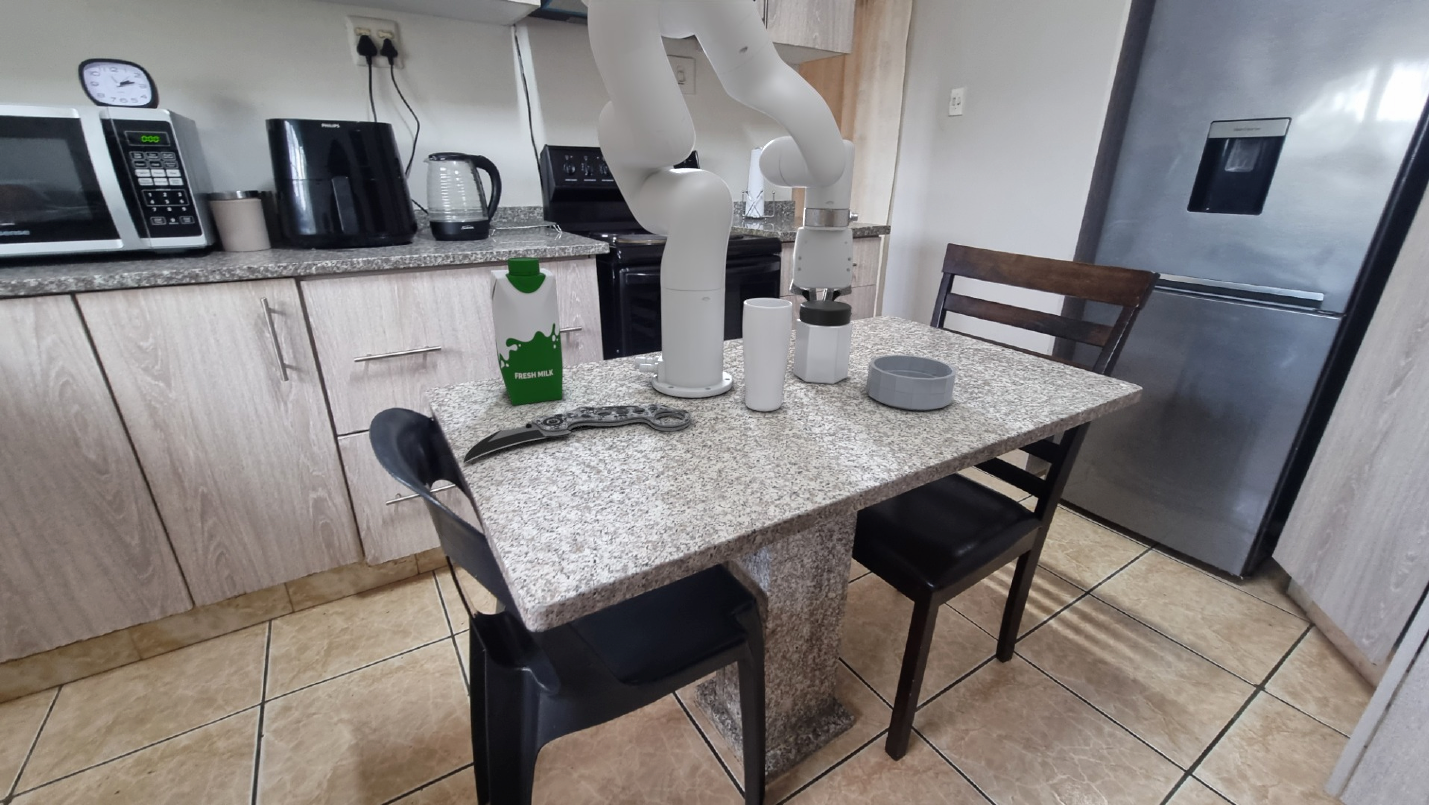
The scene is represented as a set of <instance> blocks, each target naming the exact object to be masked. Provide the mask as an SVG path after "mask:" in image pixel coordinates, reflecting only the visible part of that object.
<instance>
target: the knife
mask: <svg viewBox="0 0 1429 805" xmlns="http://www.w3.org/2000/svg"><path fill="white" fill-rule="evenodd" d="M661 417H677V418H680V419H681V420H678V421H662V420H659V418H661ZM691 418H692V415H691V412H689V411H688V410H687V409H682V408H676V407H672V406H668V405H666V404H659V403H658V404H657V403H650V404H644V405H611V406H610V405H609V406H598V407H597V406H596V407H595V406H588V405H587V406H579V407H577V408H574V409H572V410H568V411H565V412H561V413H555V414H545V415H540V416H537V417H535V418H533V419H531V422H530V423H529V422H528V423H526V424H525V425H521V426H518V427H512V428H508V429H507V428H506V429H499V430H498V431H495V432H493V433H492V434H490V435H488V436H486V437H484V438H481V440H480V441H478V442H477V443H475V444H474V445H473V446H472V447H471V448H470V449H469V450H467V453H466V454H465V456H464V458H463V461H462V464H465V463H468V462H470V461H472V460H475V459H476V458H479V457H481V456H484V455H486V454H489V453H492V452H494V451H497V450H501V449H504V448H507V447H511V446H514V445H519V444H523V443H526V442H531V441H535V440H542V439H547V438H559V437H566V436H570V435H572V432H575V431H581V430H586V429H591V428H597V427H598V428H599V427H613V426H622V425H627V424H633V423H645V424H648V425H649V426H650V427H652V428H654V429H655V430H659V431H662V432H674V431H675V432H676V431H679V430H680V431H681V430H682V429H685V428H687V427H688V426H690V425H691V420H692V419H691Z"/></svg>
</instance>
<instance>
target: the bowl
mask: <svg viewBox="0 0 1429 805" xmlns="http://www.w3.org/2000/svg"><path fill="white" fill-rule="evenodd" d="M867 371H868V372H867V378H866V380H867V381H866V387H865V388H866V389H865V390H866V393H867V394H868V396H869V397H871V398H872V399H874V400H875V401H877V402H880V403H881V404H883V405H886V406H889V407H892V408H896V409H901V410H909V411H932V410H936V409H941V408H945V407H947V406H948V405H951V403H952V400H953V394H954V389H955V383H956V378H957V373H958V370H957V369H956V367H954V366H953V365H952V364H949V363H947V362H945V361H943V360H939V359H936V358H930V357H927V356H919V355H913V354H886V355H880V356H877V357H874V358H873V357H872V359H871V360H870V361H869V362H868V370H867Z"/></svg>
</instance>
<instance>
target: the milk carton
mask: <svg viewBox="0 0 1429 805" xmlns="http://www.w3.org/2000/svg"><path fill="white" fill-rule="evenodd" d="M489 296H490V301H491V313H492V314H491V315H492V321H493V329H494V339H495V347H496V355H497V362H498V366H499V370H500V373H501V376H502V379H503V383H504V386H505V390H506V392H507V395H508V397H509V400H510V402H511V404H512V406H519V405H527V404H528V405H529V404H534V403H542V402H550V401H556V400H557V401H559V400H563V384H564V383H563V382H564V380H563V378H564V374H563V373H564V365H563V364H564V363H563V362H564V361H563V350H562V336H561V335H562V334H561V324H560V322H561V321H560V311H559V301H558V300H559V299H558V290H557V279H556V275H555V274H554V273H552V271H550V270H549V269H547V268H545V267H542V268H541V267H540V259H539V258H538V257H534V256H533V257H531V256H519V257H518V256H517V257H510V258H507V269H492V270H490V282H489Z"/></svg>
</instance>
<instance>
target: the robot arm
mask: <svg viewBox="0 0 1429 805" xmlns="http://www.w3.org/2000/svg"><path fill="white" fill-rule="evenodd" d="M580 2H581V3H582V4H583V5H584V6H585V7H587V32H588V39H589V44H590V49H591V53H592V56H593V59H594V62H595V65H596V68H597V70H598V73H599V75H600V77H601V79H602V82H603V85H604V88H605V89H606V93H607V94H608V97H609V99H610V100H609V101H607V103H606V104H605V105H604V106H603V107H602V109H601V110H600V111H601V112H600V113H599V116H598V120H597V141H598V144H599V148H600V151H601V154H602V156H603V158H604V160H605V163H606V165H607V167H608V169H609V171H610V173H611V175H612V177H613V179H614V181H615V183H616V185H617V187H618V189H619V192H620V193H621V195H622V197H623V199H624V201H625V203H626V205H627V206H628V209H629V210H630V212H631V213H632V215H633V217H634V218H635V220H636V222H638V224H639V225H640V226H641V227H642V228H643V229H644V230H646V231H647V232H650V233H651V234H654V235H658V236H662V237H667V238H666V242H665V245H664V249H663V253H662V257H661V263H660V313H661V314H660V315H661V319H660V320H661V353H660V355H655V356H654V358H650V357H644V356H643V357H642V356H640V357H639V356H635V358H634V361H633V362H634V369H635V370H639V371H638V372H639V374H642V373H643V374H644V373H645V374H649V373H652V374H653V373H654V375H653V376H652V378H651V380H652V381H651V382H652V388H654V389H655V390H656V391H658V392H660V393H662V394H664V395H668V396H672V397H676V398H677V397H678V398H690V399H692V398H695V399H696V398H697V399H699V398H708V397H715V396H719V395H722V394H725V393H726V392H728V391H729V390H731V389H732V387H733V377H732V376H731V375H730V374H729V373H728V372H726V371H725V370H724V349H725V348H724V347H725V346H724V339H725V305H726V304H725V302H726V301H725V300H726V264H727V252H728V245H729V240H730V234H731V230H732V224H733V220H734V211H735V210H734V209H735V208H734V206H735V205H734V203H735V202H734V198H733V193H732V192H731V189H730V187H729V185H728V184H727V182H726V181H725V180H724V179H723V178H722V177H720V176H719V175H718V174H716V173H715V172H713V171H709V170H707V169H700V168H675V167H674V166H676V165H679V164H681V163H682V162H684V161H686V159H688V158H689V156H690V155H691V154H692V152H693V150H694V148H695V144H696V129H695V126H694V121H693V118H692V115H691V113H690V110H689V108H688V105H687V103H686V100H685V98H684V95H683V93H682V90H681V88H680V86H679V82H678V80H677V78H676V76H675V73H674V71H673V68H672V65H671V64H670V61H669V58H668V55H667V52H666V48H665V46H664V43H663V39H662V37H665V38H669V39H685V38H688V37H691V36H695V37H696V39H697V41H698V43H699V45H700V46H701V49H702V50H703V52H704V54H705V55H706V57H707V60H708V61H709V63H710V66H711V67H712V68H713V70H714V72H715V74H716V76H717V78H718V80H719V82H720V84H721V85H722V88H723V89H724V91H725V93H726V94H727V95H728V96H729V97H730V98H732V99H733V100H735V101H737V102H738V103H740V104H742V105H744V106H746V107H748V108H750V109H753V110H756V111H758V112H760V113H762V114H764V115H766V116H768V117H770V118H772V119H773V120H774V121H775V122H776V123H778V124H779V125H780V126H781V127H782V128H783V129H784V130H785V131H786V132H787V133H788V135H786V136H779V137H776V138H774V139H772V140H770V141H769V142H768V143H767V144H766V145H764V147H763V148H762V150H761V152H760V155H759V160H758V166H759V171H760V173H761V176H762V177H763V178H764V180H765V181H766V182H767V183H769V184H771V185H772V186H774V187H777V188H786V189H799V188H802V189H804V188H805V189H804V206H803V220H802V226H800V227H798V228H797V232H796V236H795V241H794V247H793V256H792V264H791V283H790V285H789V286H790V287H789V292H790V293H791V294H794V295H797V296H801V297H803V298H804V300H806V301H813V300H818V297H817V289H822V290H823V289H824V290H823V293H822V298H821V300H828V301H836V300H837V299H838V298H839V297H844V296H849V295H851V294H852V292H853V289H852V281H853V272H854V270H853V269H854V239H853V238H854V237H853V230H852V228H849V226H850V224H851V223H853V222H858V219H859V213H858V212H854V211H851V209H850V208H851V200H852V189H853V188H852V187H853V178H854V177H853V176H854V166H855V158H856V157H855V155H856V148H855V144H854V143H853V141H851V140H849V139H843V136H842V134H841V131H840V129H839V126H838V124H837V122H836V119H835V117H834V115H833V113H832V110H831V108H830V107H829V105H828V104H827V102H826V100H825V99H824V97H822V95H821V94H820V93H819V92H818V91H817V90H816V89H815V88H814V87H813V85H811V84H810V83H809V82H808V81H807V80H806V79H805V78H804V77H802V75H800V74H799V73H798V72H797V71H796V70H795V69H793V68H792V67H791V66H790V65H788V64H787V62H785V61H784V60H783V59H782V58H781V56H780V55H779V53H778V51H777V49H776V47H775V45H774V42H773V40H772V38H771V36H770V34H769V32H768V30H767V28H766V25H765V23H764V22H763V19H762V17H761V14H760V13H759V11H758V8H757V6H756V3H755V1H754V0H580Z"/></svg>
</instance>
